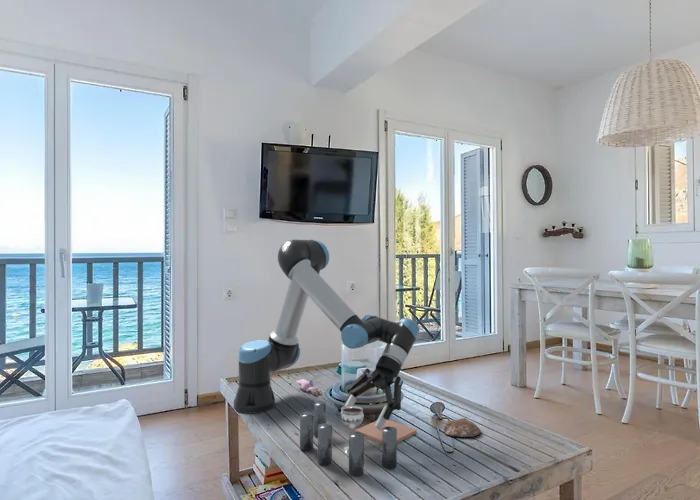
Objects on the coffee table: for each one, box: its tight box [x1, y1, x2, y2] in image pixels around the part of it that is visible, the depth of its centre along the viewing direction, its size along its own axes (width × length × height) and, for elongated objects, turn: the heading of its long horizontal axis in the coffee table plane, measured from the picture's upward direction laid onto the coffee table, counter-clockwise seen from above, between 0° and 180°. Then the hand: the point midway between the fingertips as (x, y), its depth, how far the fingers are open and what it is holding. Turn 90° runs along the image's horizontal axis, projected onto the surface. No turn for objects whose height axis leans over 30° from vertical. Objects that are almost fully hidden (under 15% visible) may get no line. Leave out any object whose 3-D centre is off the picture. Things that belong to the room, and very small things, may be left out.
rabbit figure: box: [295, 378, 323, 397], centre depth 182 cm, size 6×6×15 cm
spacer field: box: [299, 400, 398, 478], centre depth 126 cm, size 32×15×10 cm, turn 47°
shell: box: [443, 417, 482, 440], centre depth 144 cm, size 12×13×4 cm
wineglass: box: [340, 404, 365, 454], centre depth 130 cm, size 7×7×12 cm
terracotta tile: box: [354, 419, 417, 445], centre depth 142 cm, size 14×14×1 cm
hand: (360, 421), depth 131 cm, fingers open, 13 cm apart
